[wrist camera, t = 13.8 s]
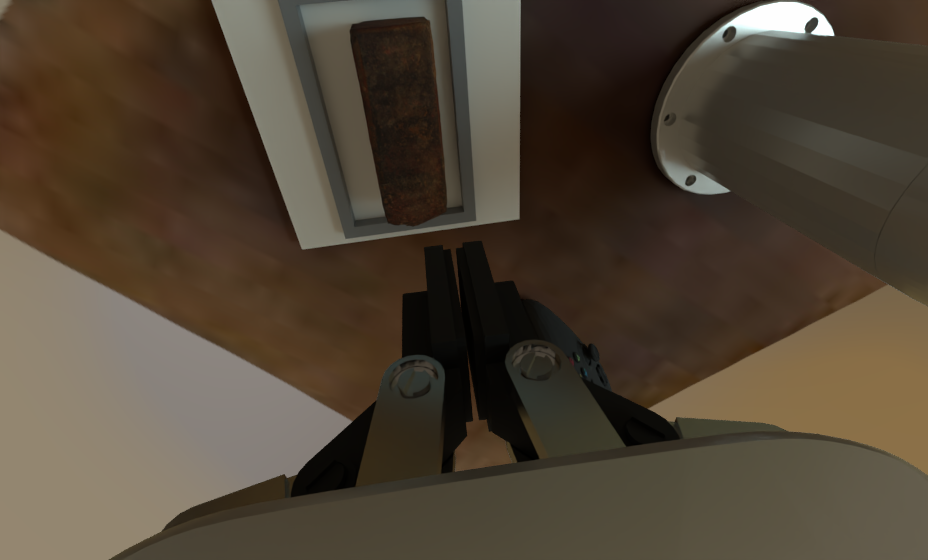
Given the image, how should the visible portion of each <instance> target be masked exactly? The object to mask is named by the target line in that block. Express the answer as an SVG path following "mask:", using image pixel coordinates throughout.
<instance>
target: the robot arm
mask: <svg viewBox="0 0 928 560" xmlns="http://www.w3.org/2000/svg"><path fill="white" fill-rule="evenodd" d="M651 146H652V153H653V156H654V159H655V161H656V164H657V166H658V168H659V169H660V170H661V172H662V173H663V175H664V176H665V177H666V178H668V179H669V180H670V181H671V182H673V183H674V184H675V185H677V186H678V187H680V188H681V189H683V190H685V191H689V192H692V193H696V194H705V195H713V194H720V193H726V192H730V191H732V192H733V193H735V194H737V195H738V196H740V197H742V198H743V199H745V200H747V201H748V202H750V203H752V204H753V205H755V206H757V207H758V208H760V209H762V210H764V211H765V212H767V213H769V214H770V215H772V216H774V217H775V218H777V219H779V220H780V221H782V222H784V223H785V224H787V225H789V226H790V227H792V228H794V229H795V230H797V231H799V232H800V233H802V234H804V235H805V236H807V237H809V238H810V239H812V240H814V241H815V242H817V243H819V244H821V245H822V246H824V247H826V248H827V249H829V250H831V251H832V252H834V253H836V254H837V255H839V256H841V257H842V258H844V259H846V260H847V261H849V262H851V263H852V264H854V265H856V266H857V267H859V268H861V269H863V270H864V271H866V272H868V273H869V274H871V275H873V276H875V277H876V278H878V279H880V280H882V281H883V282H885V283H887V284H888V285H890V286H892V287H894V288H895V289H897V290H899V291H901V292H902V293H904V294H905V295H907V296H909V297H911V298H912V299H914V300H916V301H918V302H920V303H922V304H924V305H926V306H928V46H924V45H915V44H906V43H896V42H887V41H878V40H868V39H859V38H850V37H840V36H835V35H834V32H833V28H832V26H831V25H830V23H829V22H828V20H827V19H826V17H825V16H824V14H822V13H821V12H820V11H818V10H817V9H816V8H814V7H813V6H812V5H809V4H806V3H803V2H800V1H797V0H767V1H759V2H756V3H753V4H750V5H747V6H744V7H741V8H739V9H737V10H735V11H733V12H732V13H730V14H728V15H726V16H724V17H722V18H721V19H720V20H718V21H717V22H716V23H714V24H713V25H712V26H710V27H709V28H708V29H706V30H705V31H704V32H703V33H702V34H701V35H700V36H699V37H698V38H697V39H696V40H695V41H694V42H693V43H692V44H691V45H690V46H689V47H688V48H687V49H686V51H685V52H684V53H683V55H682V56H681V57H680V59H679V60H678V61H677V63H676V64H675V65H674V67H673V68H672V70H671V72H670V74H669V75H668V77H667V79H666V81H665V83H664V84H663V87H662V89H661V92H660V94H659V97H658V99H657V102H656V104H655V109H654V113H653V117H652V122H651ZM424 252H425V265H426V279H427V291H422V292H414V293H406V294H403V310H402V358H401V359H399V360H397V361H396V362H394V363H393V364H391V365H390V366H389V368H388V369H387V370H386V371H385V373H384V375H383V377H382V381H381V385H380V389H379V393H378V397H377V400H376V401H375V402H374V403H373V404H372V405H371V406H370V407H368V408H367V409H366V410H365V411H364V412H363V413H362V414H361V415H360V416H358V417H357V418H356V419H355V420H354V421H353V422H352V423H351V424H350V425H348V426H347V427H346V428H345V429H344V430H343V431H342V432H341V433H340V434H338V435H337V436H336V437H335V438H334V439H333V440H332V441H331V442H330V443H328V445H326V446H325V447H324V448H323V449H322V450H321V451H320V452H318V453H317V454H316V455H315V456H314V457H313V458H312V459H311V460H309V461H308V462H307V463H306V464H305V466H304V467H303V468H302V469H301V470H300V471H299V473H298V474H297V475H295V476H292V477H289V478H286V476H285V474H283V475H280V476H278V477H275V478H272V479H269V480H267V481H264V482H261V483H258V484H255V485H253V486H250V487H247V488H244V489H242V490H239V491H236V492H233V493H230V494H228V495H225V496H222V497H219V498H217V499H214V500H211V501H208V502H205V503H202V504H200V505H197V506H194V507H192V508H190V509H188V510H186V511H184V512H182V513H180V514H179V515H177V516H176V517H175V518H174V519H173V520H172V521H171V522H169V523H168V524H167V525H166V526H165V528H164V529H163V530H162V532H160V533H158V534H156V535H154V536H152V537H150V538H147V539H145V540H143V541H142V542H140V543H138V544H136V545H134V546H132V547H130V548H128V549H126V550H124V551H123V552H121V553H119V554H117V555H116V556H114V557H112V558H111V559H109V560H928V475H926V474H925V473H924V472H922V471H921V470H919V469H918V468H916V467H915V466H913V465H911V464H910V463H908V462H906V461H905V460H903V459H901V458H899V457H897V456H895V455H893V454H891V453H888V452H886V451H884V450H881V449H878V448H875V447H872V446H869V445H865V444H862V443H858V442H855V441H851V440H846V439H841V438H835V437H831V436H825V435H820V434H812V433H801V432H789V431H786V430H784V429H782V428H780V427H777V426H775V425H770V424H765V423H756V422H741V421H726V420H710V419H695V418H680V417H677V418H676V420H675V422H669V421H667V420H666V419H664V418H663V417H661V416H660V415H658V414H656V413H655V412H653V411H651V410H648V409H646V408H644V407H642V406H640V405H638V404H636V403H634V402H632V401H630V400H628V399H626V398H624V397H621V396H619V395H617V394H615V393H613V392H611V391H609V390H607V389H605V388H603V387H601V386H599V385H596V384H594V383H592V382H590V381H588V380H586V379H584V378H582V377H580V376H579V374H578V373H577V371H576V370H575V368H574V367H573V365H572V364H571V362H570V361H569V359H568V358H567V356H566V355H565V354H564V352H563V351H562V350H561V349H560V348H559V347H557V346H555V345H554V344H552V343H549V342H546V341H543V340H535V337H534V334H533V332H532V329H531V326H530V323H529V321H528V318H527V315H526V313H525V310H524V307H523V305H522V302H521V299H520V297H519V294H518V291H517V288H516V286H515V283H514V282H513V281H505V282H496V283H494V281H493V277H492V274H491V271H490V268H489V264H488V261H487V258H486V254H485V251H484V248H483V244H482V241H473V242H465V243H463V248H456V255H457V266H458V277H459V289H460V300H461V307H460V301H459V295H458V290H457V284H456V278H455V273H454V267H453V261H452V255H451V250H450V249H447V250H443V245H439V246H430V247H424ZM461 312H462V313H461ZM467 352H468V356H467ZM468 358H469V364H470V370H471V376H472V382H473V387H474V393H475V399H476V405H477V411H478V416H479V420H485V419H487V423H488V429H489V432H490V431H492V432H493V433H494V434H496V435H498V436H499V437H501V438H502V439H504V440H506V447H507V451H508V453H509V456H510V458H511V461H512V463H511V464H505V465H498V466H491V467H484V468H478V469H471V470H464V471H458V472H455V463H456V455H455V449H456V448H457V447H458V446H459V445H460V443H461V442H462V441H463V440H464V439H465V437H466V436H467V430H466V422H471V421H473V416H472V404H471V392H470V380H469V368H468Z"/></svg>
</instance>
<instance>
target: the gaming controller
mask: <svg viewBox="0 0 928 560" xmlns="http://www.w3.org/2000/svg"><path fill="white" fill-rule="evenodd" d="M521 302H522V305H523V307H524V310H525V313H526V315H527V318H528V321H529V323H530V326H531V329H532V332H533V334H534V337H535V340H543V341H546V342H549V343H552V344H554V345H555V346H557V347H559V348H560V349H561V350H562V351H563V352H564V354H565V355H566V356H567V358H568V359H569V361H570V362H571V364H572V365H573V367H574V368H575V370H576V371H577V373H578V374H579V376H580V377H582V378H584V379H586V380H588V381H590V382H592V383H594V384H596V385H599V386H601V387H603V388H605V389H607V390H609V391H611V392H612V390H611V387H610V384H609V381H608V379H607V376H606V374H605V372H604V370H603V368H602V366H601V364H600V363H599V362H598V361H599V353H598V350H597V348H596V347H595V345H593V344H589V346H588V348H587V346H586V345H585V344H583V343H582V342H581V341H580V340H579V338H578V337H577V336H576V335H575V334H574V333H573V331H572V330H571V329H570V328H569V327H568V326H567V325H566V324H565V323H564V322H563V321H562V320H561V319H560V318H559V317H557V316H556V315H555V314H554V313H553V312H552V311H550V310H549V309H548V308H546V307H545V306H544V305H542V304H540V303H539V302H537V301H534V300H529V299H526V300H522V301H521ZM619 396H620V395H619ZM621 397H622V396H621Z"/></svg>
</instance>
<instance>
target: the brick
mask: <svg viewBox="0 0 928 560" xmlns="http://www.w3.org/2000/svg"><path fill="white" fill-rule="evenodd" d="M350 42H351V47H352V53H353V58H354V62H355V67H356V72H357V77H358V81H359V86H360V92H361V96H362V101H363V107H364V113H365V117H366V122H367V128H368V134H369V141H370V144H371V149H372V154H373V159H374V164H375V170H376V175H377V179H378V185H379V189H380V194H381V199H382V205H383V209H384V212H385V216H386V218H387V222H388V224H392V225H398V226H399V225H406V226H412V227H414V226H418V225H420V224H422V223H425V222H427V221H428V220H431V219H433V218H435V217H438V216H439V215H441V214H443V213H445V212H446V211H447V187H446V178H445V160H444V152H443V142H442V130H441V119H440V110H439V99H438V89H437V81H436V66H435V57H434V44H433V38H432V32H431V24H430V20H427V19H426V18H425V17H407V18H395V19H383V20H372V21H363V22H361V23H356V24H352V26H351V29H350Z"/></svg>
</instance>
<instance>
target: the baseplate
mask: <svg viewBox="0 0 928 560" xmlns="http://www.w3.org/2000/svg"><path fill="white" fill-rule="evenodd" d="M212 3H213V6H214V9H215V11H216V14H217V17H218V20H219V22H220V25H221V28H222V31H223V33H224V36H225V39H226V42H227V45H228V47H229V50H230V53H231V56H232V58H233V61H234V64H235V67H236V69H237V72H238V75H239V78H240V80H241V83H242V86H243V89H244V91H245V94H246V97H247V100H248V102H249V105H250V108H251V111H252V113H253V116H254V119H255V122H256V124H257V127H258V130H259V133H260V135H261V138H262V141H263V144H264V146H265V149H266V152H267V155H268V157H269V160H270V163H271V166H272V168H273V171H274V174H275V177H276V179H277V182H278V185H279V188H280V190H281V193H282V196H283V199H284V201H285V204H286V207H287V210H288V212H289V215H290V218H291V221H292V223H293V226H294V229H295V232H296V234H297V237H298V240H299V243H300V245H301V248H302V250H303V249H310V248H317V247H324V246H332V245H339V244H346V243H353V242H360V241H367V240H374V239H381V238H389V237H396V236H403V235H410V234H417V233H424V232H431V231H439V230H446V229H453V228H460V227H467V226H474V225H481V224H489V223H496V222H503V221H510V220H517V219H519V205H520V13H521V0H212ZM407 17H425V18H426V19H427V20H430V24H431V32H432V38H433V44H434V57H435V66H436V81H437V89H438V99H439V110H440V119H441V130H442V142H443V152H444V160H445V178H446V187H447V211H446V212H445V213H443V214H441V215H439V216H438V217H435V218H433V219H431V220H428V221H427V222H425V223H422V224H420V225H418V226H414V227H412V226H406V225H399V226H398V225H392V224H388V222H387V218H386V216H385V212H384V209H383V205H382V199H381V194H380V189H379V185H378V179H377V175H376V170H375V164H374V159H373V154H372V149H371V144H370V141H369V134H368V128H367V122H366V117H365V113H364V107H363V101H362V96H361V92H360V86H359V81H358V77H357V72H356V67H355V62H354V58H353V53H352V47H351V42H350V29H351V26H352V24H356V23H361V22H363V21H372V20H383V19H395V18H407Z"/></svg>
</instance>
